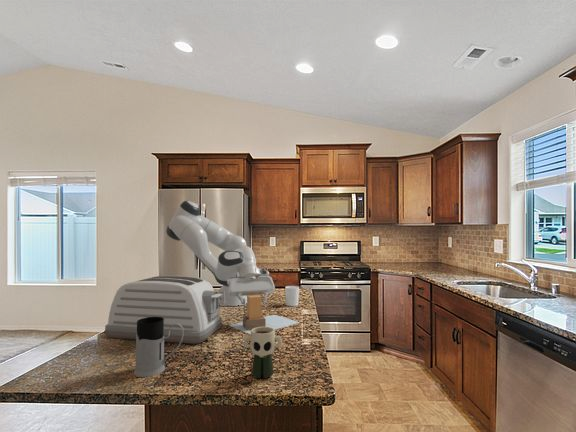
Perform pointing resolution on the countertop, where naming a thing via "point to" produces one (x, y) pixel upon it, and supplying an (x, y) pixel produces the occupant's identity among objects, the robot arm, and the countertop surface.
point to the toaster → (166, 308)
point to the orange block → (253, 306)
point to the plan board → (269, 323)
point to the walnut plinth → (253, 322)
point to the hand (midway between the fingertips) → (254, 302)
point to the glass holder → (151, 346)
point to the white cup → (292, 295)
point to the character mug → (262, 350)
